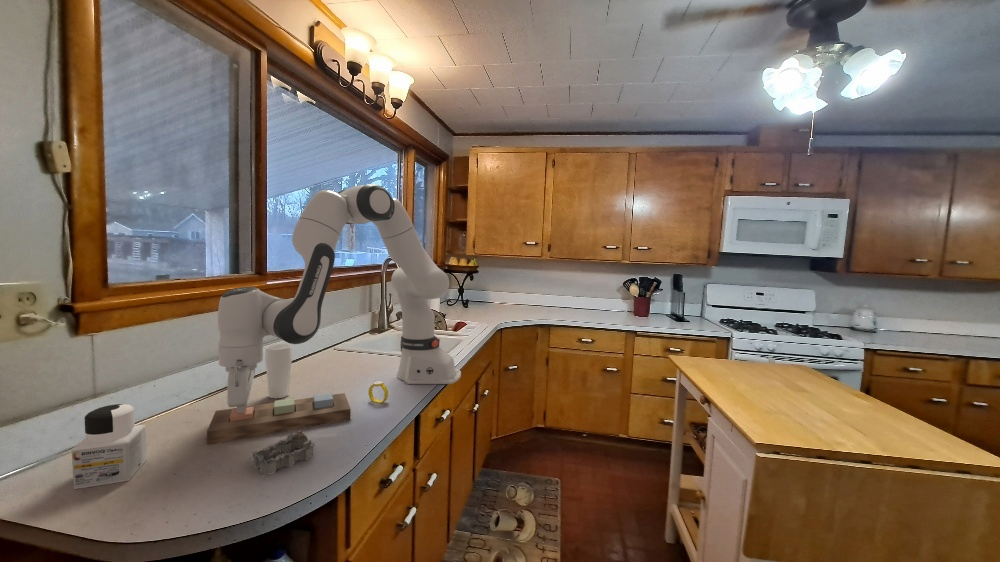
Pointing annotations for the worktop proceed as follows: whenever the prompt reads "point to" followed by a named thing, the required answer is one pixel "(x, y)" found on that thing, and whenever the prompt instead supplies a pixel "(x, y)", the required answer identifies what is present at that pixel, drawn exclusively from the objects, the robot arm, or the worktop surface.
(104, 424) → the container
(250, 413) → the terracotta button
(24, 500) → the worktop surface
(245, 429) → the button panel
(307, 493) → the worktop surface
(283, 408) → the sage button
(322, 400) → the slate button
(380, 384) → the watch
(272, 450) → the egg carton
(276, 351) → the drinking glass
